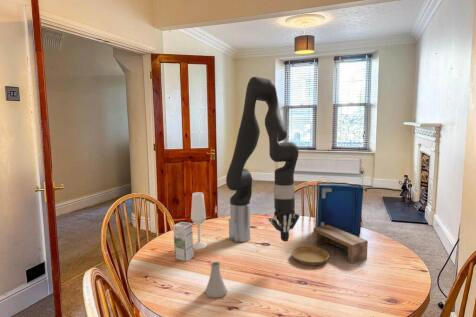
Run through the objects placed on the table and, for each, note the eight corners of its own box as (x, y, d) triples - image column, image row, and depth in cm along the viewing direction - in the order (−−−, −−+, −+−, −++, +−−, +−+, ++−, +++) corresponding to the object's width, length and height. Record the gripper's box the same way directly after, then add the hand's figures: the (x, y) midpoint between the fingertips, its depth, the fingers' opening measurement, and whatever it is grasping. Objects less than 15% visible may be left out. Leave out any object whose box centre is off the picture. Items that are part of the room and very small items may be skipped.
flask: (205, 287, 105) (204, 259, 103) (226, 286, 105) (226, 258, 104) (204, 299, 97) (203, 269, 96) (227, 298, 98) (227, 268, 97)
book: (359, 231, 155) (360, 182, 152) (363, 236, 148) (365, 185, 145) (314, 230, 157) (315, 181, 154) (317, 235, 150) (317, 184, 147)
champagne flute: (189, 247, 138) (187, 194, 135) (196, 241, 144) (194, 191, 141) (202, 249, 135) (200, 195, 132) (209, 243, 142) (208, 192, 139)
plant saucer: (322, 271, 115) (322, 265, 114) (285, 262, 122) (285, 256, 122) (333, 256, 127) (333, 250, 127) (299, 249, 135) (299, 243, 134)
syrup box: (194, 256, 129) (193, 222, 127) (186, 262, 123) (184, 227, 122) (182, 254, 131) (181, 220, 129) (174, 259, 126) (172, 225, 124)
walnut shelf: (351, 263, 120) (352, 244, 119) (313, 243, 140) (313, 227, 139) (366, 258, 124) (367, 240, 123) (327, 240, 144) (327, 224, 143)
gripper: (292, 191, 122) (292, 234, 124) (263, 196, 116) (264, 241, 118) (304, 195, 115) (304, 240, 117) (275, 200, 109) (276, 247, 111)
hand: (284, 240), depth 117 cm, fingers closed
